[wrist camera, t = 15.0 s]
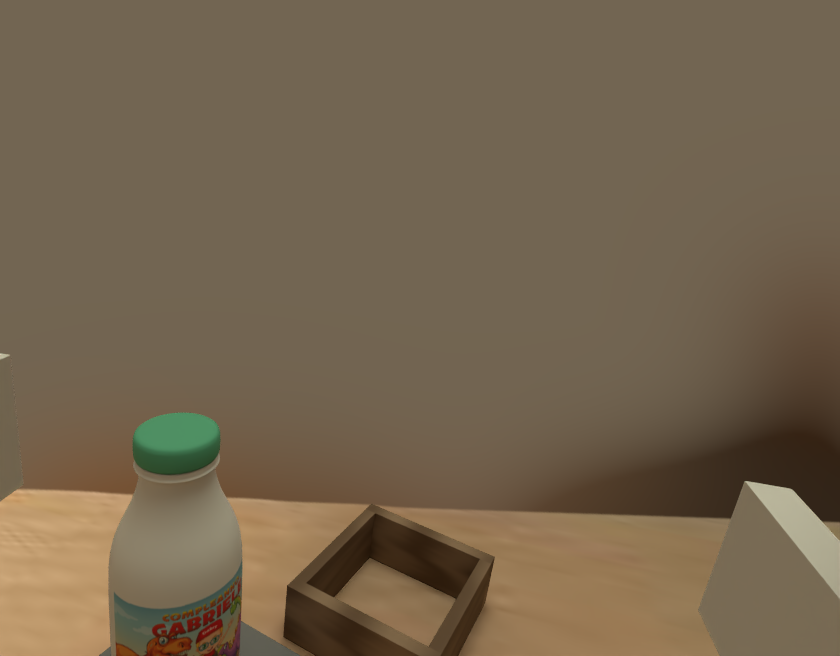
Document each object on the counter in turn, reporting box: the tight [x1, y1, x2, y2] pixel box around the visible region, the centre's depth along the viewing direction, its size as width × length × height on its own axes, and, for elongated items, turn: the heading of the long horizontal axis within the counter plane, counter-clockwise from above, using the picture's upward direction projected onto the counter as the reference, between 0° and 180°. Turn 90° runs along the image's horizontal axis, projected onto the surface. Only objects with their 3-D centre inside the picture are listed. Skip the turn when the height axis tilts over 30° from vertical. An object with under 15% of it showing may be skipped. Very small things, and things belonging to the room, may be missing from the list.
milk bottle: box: [109, 413, 242, 656], centre depth 35 cm, size 8×8×20 cm
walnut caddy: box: [283, 504, 495, 656], centre depth 46 cm, size 12×12×5 cm
